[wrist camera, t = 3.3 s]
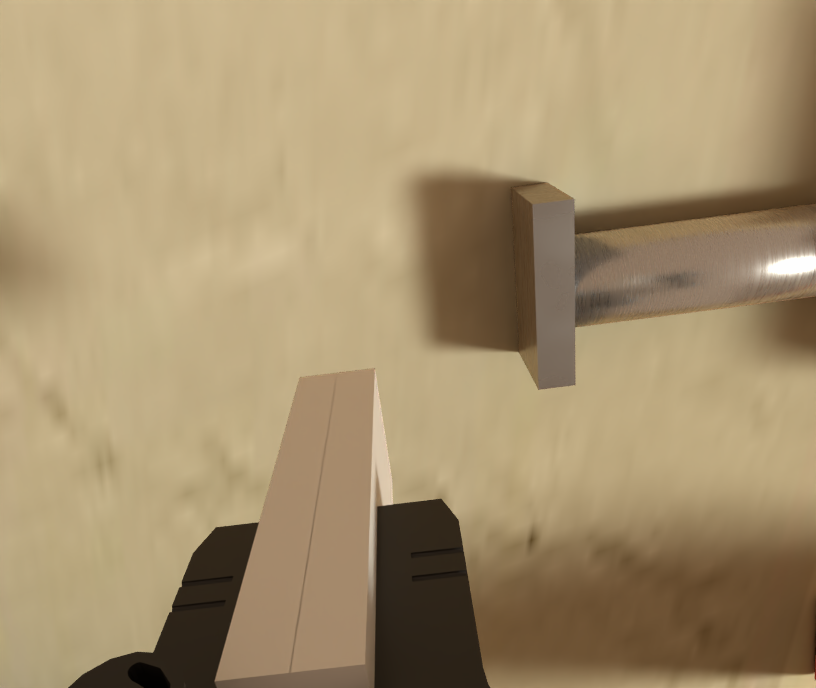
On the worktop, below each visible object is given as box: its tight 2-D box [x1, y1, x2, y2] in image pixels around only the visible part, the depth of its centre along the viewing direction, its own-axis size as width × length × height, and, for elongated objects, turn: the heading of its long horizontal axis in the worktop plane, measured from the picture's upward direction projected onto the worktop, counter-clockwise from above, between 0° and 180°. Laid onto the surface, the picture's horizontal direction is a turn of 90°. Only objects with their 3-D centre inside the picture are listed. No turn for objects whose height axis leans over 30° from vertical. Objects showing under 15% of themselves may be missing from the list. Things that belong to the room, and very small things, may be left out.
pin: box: [511, 183, 816, 390], centre depth 20 cm, size 13×6×3 cm, turn 97°
